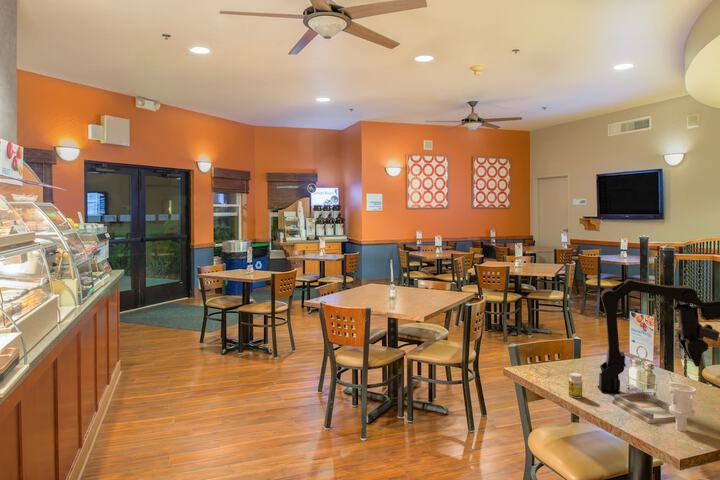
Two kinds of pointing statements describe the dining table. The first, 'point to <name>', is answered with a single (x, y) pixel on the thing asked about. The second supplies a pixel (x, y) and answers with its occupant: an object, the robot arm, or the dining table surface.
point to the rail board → (644, 407)
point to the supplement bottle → (575, 385)
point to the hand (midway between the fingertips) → (694, 362)
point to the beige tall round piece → (681, 404)
